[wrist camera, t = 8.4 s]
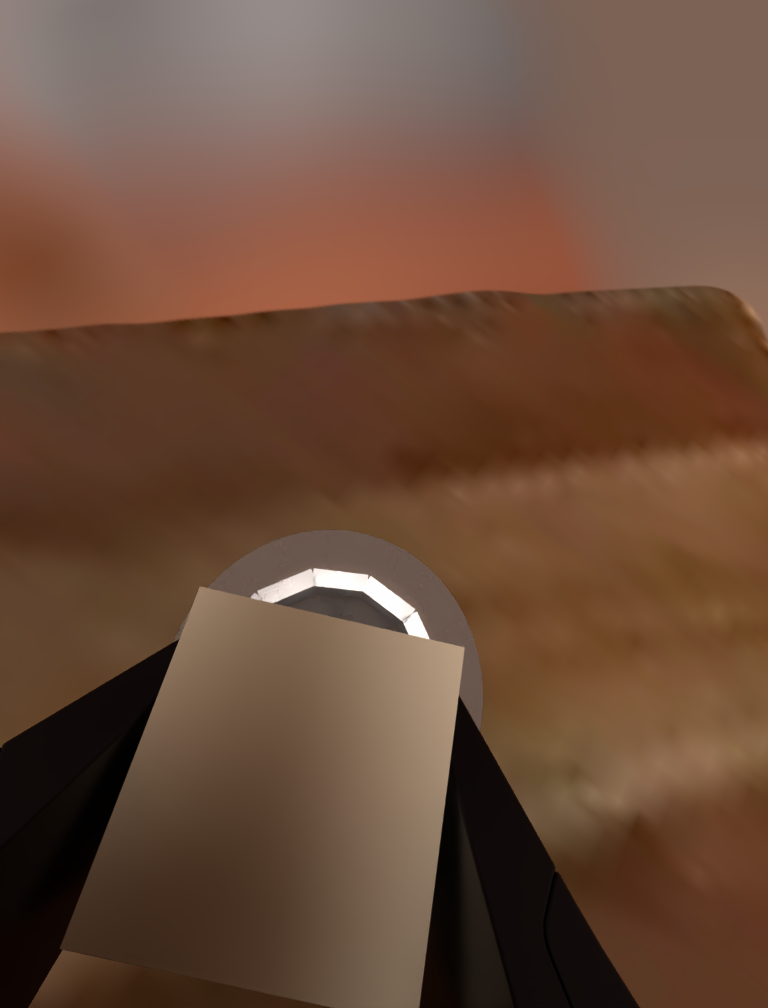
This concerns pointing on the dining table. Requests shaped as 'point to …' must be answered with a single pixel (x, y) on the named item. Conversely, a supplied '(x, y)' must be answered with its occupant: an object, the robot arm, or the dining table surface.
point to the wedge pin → (282, 809)
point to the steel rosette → (358, 591)
